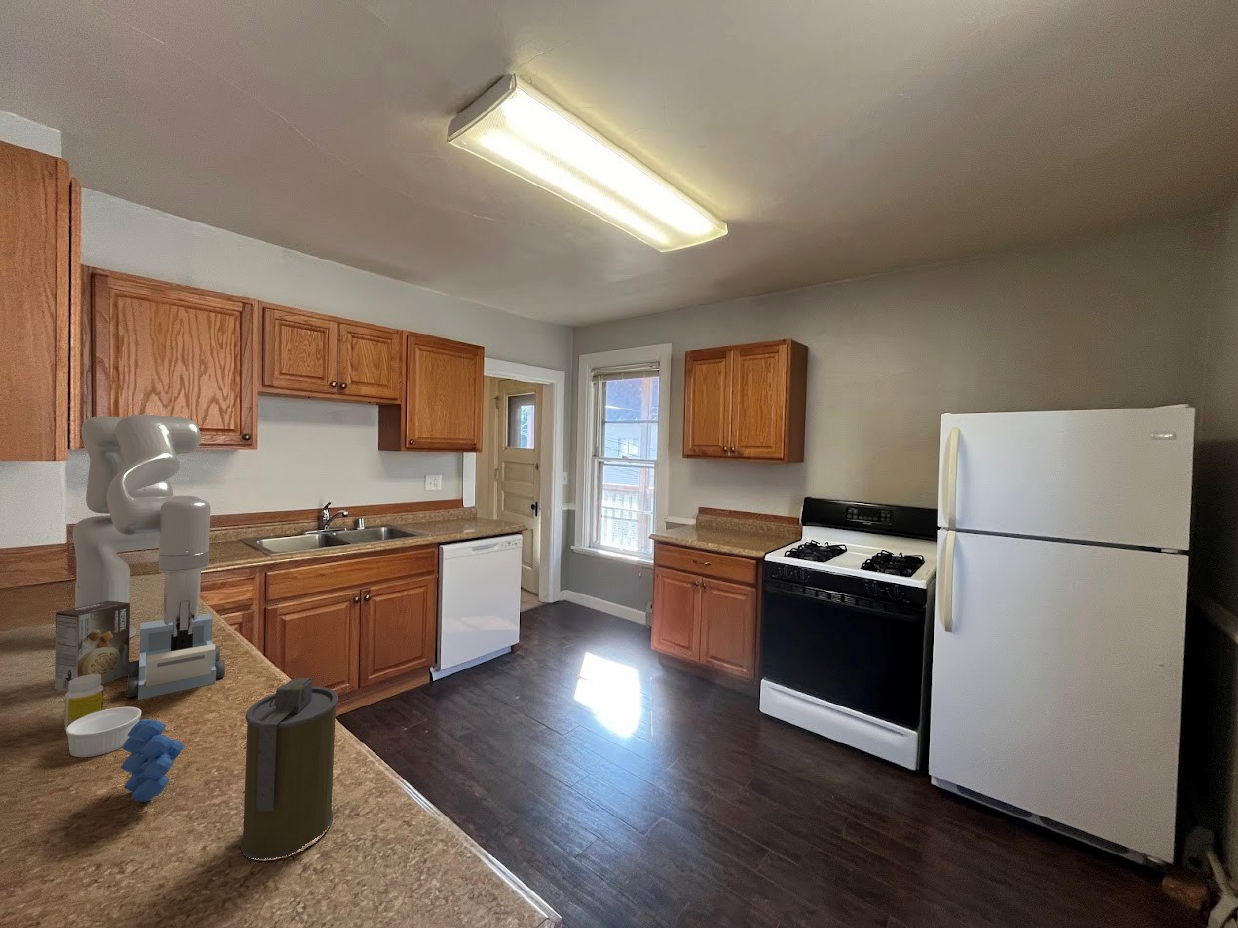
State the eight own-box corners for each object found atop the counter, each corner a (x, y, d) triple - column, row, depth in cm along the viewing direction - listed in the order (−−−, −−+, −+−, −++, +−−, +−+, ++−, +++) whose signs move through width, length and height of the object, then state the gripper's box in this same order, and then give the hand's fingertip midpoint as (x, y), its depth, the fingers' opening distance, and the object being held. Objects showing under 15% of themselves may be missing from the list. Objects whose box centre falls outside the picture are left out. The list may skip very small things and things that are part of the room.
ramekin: (150, 739, 86) (151, 714, 86) (79, 766, 78) (79, 739, 78) (126, 725, 90) (126, 701, 90) (55, 750, 82) (55, 724, 82)
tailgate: (144, 682, 99) (145, 655, 93) (211, 669, 106) (216, 643, 101) (144, 689, 98) (145, 662, 93) (211, 675, 105) (216, 649, 100)
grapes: (199, 799, 72) (202, 717, 72) (137, 827, 66) (140, 739, 66) (168, 770, 78) (171, 694, 78) (108, 794, 72) (111, 712, 72)
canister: (272, 804, 72) (277, 667, 72) (346, 803, 73) (352, 668, 72) (217, 866, 61) (224, 705, 61) (306, 864, 62) (312, 705, 62)
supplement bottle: (108, 721, 91) (110, 675, 91) (73, 734, 86) (74, 686, 86) (93, 715, 92) (94, 671, 92) (57, 728, 88) (59, 681, 88)
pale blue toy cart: (128, 674, 109) (130, 624, 109) (217, 657, 119) (219, 611, 119) (126, 702, 97) (128, 647, 97) (225, 681, 108) (226, 630, 108)
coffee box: (107, 671, 110) (109, 599, 110) (129, 675, 108) (132, 602, 108) (52, 690, 101) (55, 611, 101) (76, 694, 99) (79, 615, 99)
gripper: (157, 557, 101) (155, 647, 101) (159, 571, 90) (156, 671, 91) (205, 553, 106) (203, 638, 107) (212, 566, 96) (209, 660, 96)
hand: (181, 653), depth 99 cm, fingers closed
